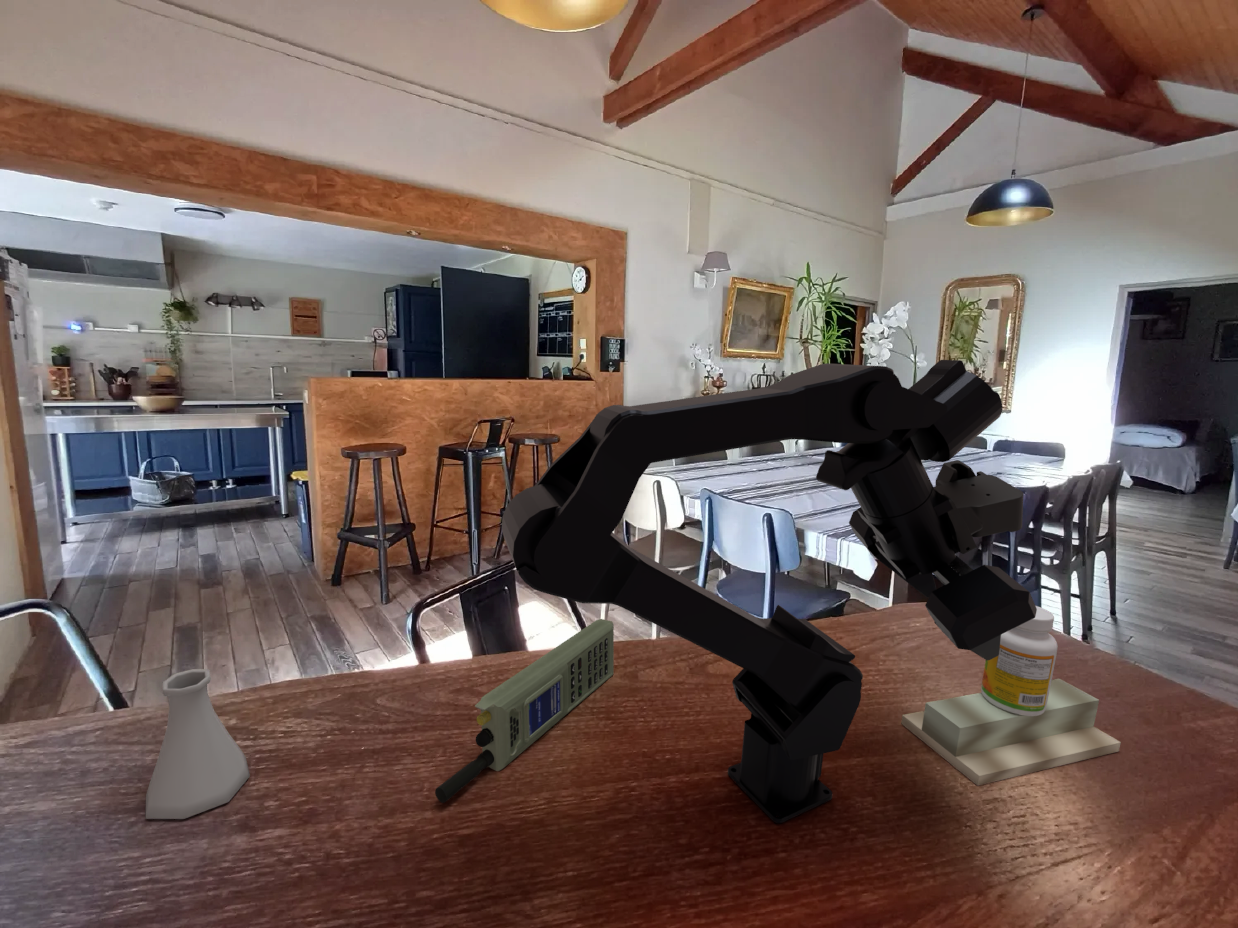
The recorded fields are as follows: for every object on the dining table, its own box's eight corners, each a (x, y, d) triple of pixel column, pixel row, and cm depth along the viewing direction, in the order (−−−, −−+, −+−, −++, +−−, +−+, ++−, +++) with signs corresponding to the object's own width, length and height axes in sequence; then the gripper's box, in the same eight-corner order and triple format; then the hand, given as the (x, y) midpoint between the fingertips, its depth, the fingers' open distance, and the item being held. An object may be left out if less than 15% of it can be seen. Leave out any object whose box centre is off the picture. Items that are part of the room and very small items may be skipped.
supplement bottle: (990, 679, 61) (1005, 594, 59) (1052, 704, 57) (1070, 612, 55) (972, 697, 57) (987, 607, 56) (1035, 725, 53) (1054, 628, 52)
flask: (163, 768, 50) (149, 662, 48) (260, 751, 52) (250, 649, 50) (126, 833, 43) (108, 713, 41) (238, 810, 45) (226, 696, 44)
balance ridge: (977, 785, 51) (984, 745, 50) (901, 723, 59) (906, 688, 59) (1118, 751, 56) (1126, 714, 56) (1030, 698, 65) (1036, 666, 64)
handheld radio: (618, 676, 67) (455, 819, 46) (594, 669, 68) (426, 803, 47) (618, 622, 66) (451, 743, 44) (594, 616, 67) (422, 729, 46)
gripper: (1078, 492, 38) (1134, 649, 43) (923, 412, 55) (977, 531, 60) (922, 574, 40) (994, 716, 45) (820, 472, 57) (880, 583, 62)
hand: (959, 623), depth 53 cm, fingers open, 9 cm apart
